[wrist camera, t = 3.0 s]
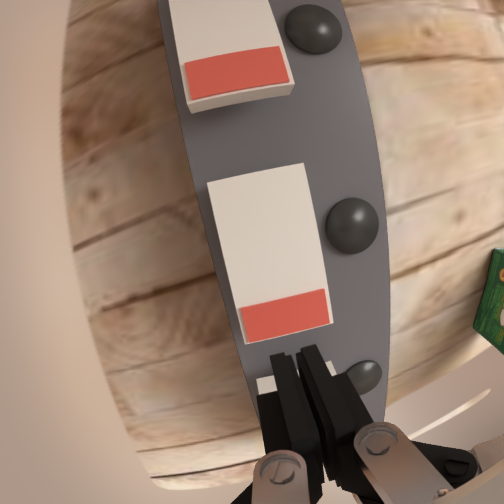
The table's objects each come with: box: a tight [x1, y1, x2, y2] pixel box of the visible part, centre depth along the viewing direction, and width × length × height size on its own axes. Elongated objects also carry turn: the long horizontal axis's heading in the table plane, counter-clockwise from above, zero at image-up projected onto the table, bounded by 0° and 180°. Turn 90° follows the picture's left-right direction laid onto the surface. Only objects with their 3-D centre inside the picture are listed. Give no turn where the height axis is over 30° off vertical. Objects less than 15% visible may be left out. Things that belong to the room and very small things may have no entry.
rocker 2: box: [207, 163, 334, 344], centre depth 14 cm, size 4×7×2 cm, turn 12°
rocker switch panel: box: [157, 0, 390, 426], centre depth 17 cm, size 9×32×4 cm, turn 12°
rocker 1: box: [169, 0, 295, 114], centre depth 11 cm, size 4×7×2 cm, turn 12°
